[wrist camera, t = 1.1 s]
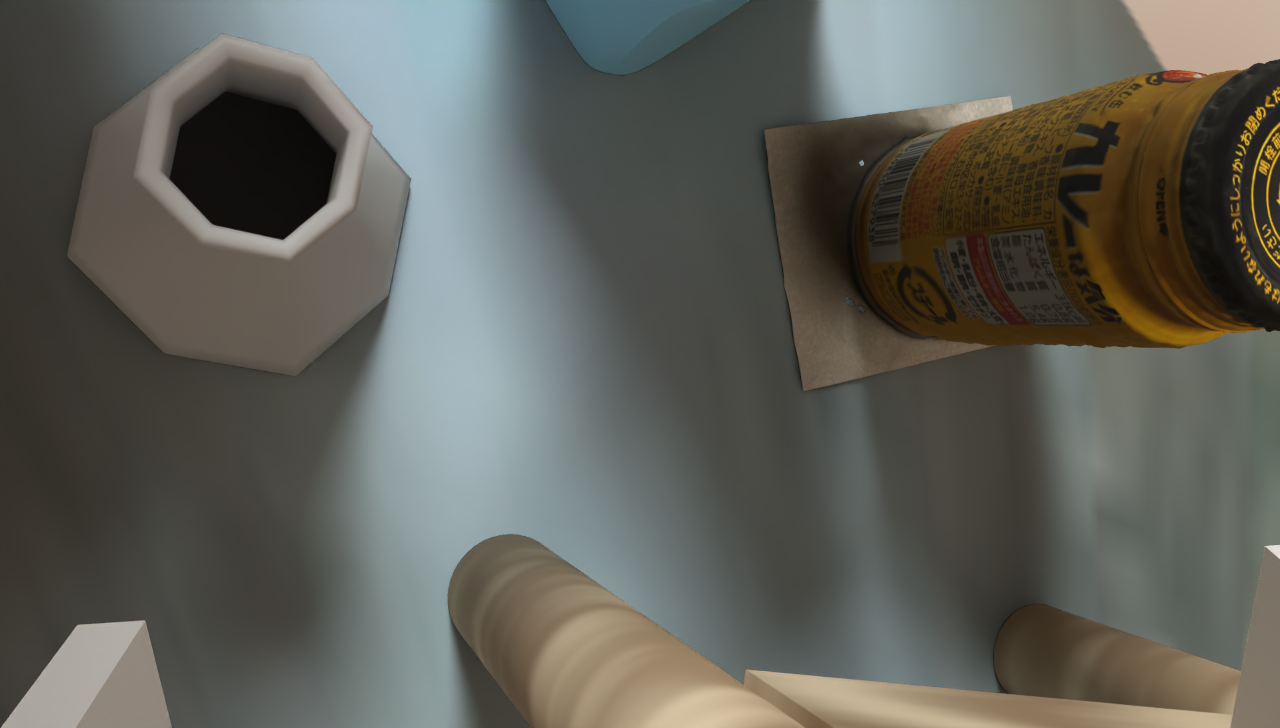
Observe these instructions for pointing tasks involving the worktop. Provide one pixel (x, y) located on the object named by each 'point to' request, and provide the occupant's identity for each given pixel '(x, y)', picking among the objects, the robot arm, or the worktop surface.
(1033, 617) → the stool
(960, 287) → the condiment
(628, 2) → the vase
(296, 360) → the flask
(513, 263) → the worktop surface
